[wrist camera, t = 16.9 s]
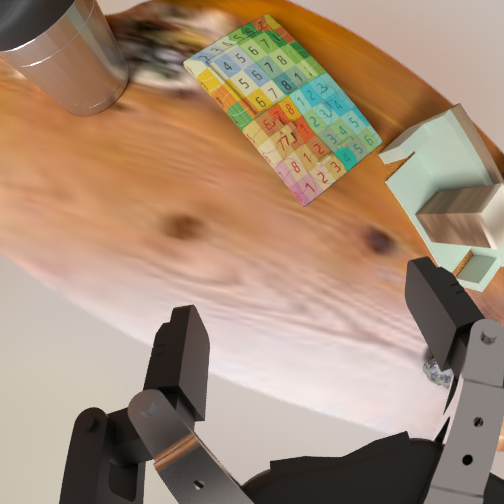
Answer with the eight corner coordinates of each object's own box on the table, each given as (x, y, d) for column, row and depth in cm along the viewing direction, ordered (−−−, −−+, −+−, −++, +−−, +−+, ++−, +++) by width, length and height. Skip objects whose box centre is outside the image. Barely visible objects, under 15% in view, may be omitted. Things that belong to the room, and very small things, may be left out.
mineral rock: (412, 362, 39) (455, 391, 29) (458, 306, 39) (506, 322, 29) (444, 404, 40) (481, 431, 31) (484, 354, 41) (525, 373, 31)
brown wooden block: (414, 214, 36) (481, 212, 24) (436, 190, 37) (502, 183, 25) (431, 242, 37) (498, 249, 25) (452, 218, 37) (518, 218, 25)
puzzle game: (309, 205, 31) (182, 57, 28) (297, 207, 35) (185, 76, 33) (386, 140, 31) (269, 9, 28) (368, 149, 36) (263, 29, 33)
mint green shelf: (370, 161, 36) (418, 143, 25) (410, 125, 36) (459, 103, 26) (453, 293, 39) (503, 308, 28) (484, 252, 39) (534, 258, 29)
